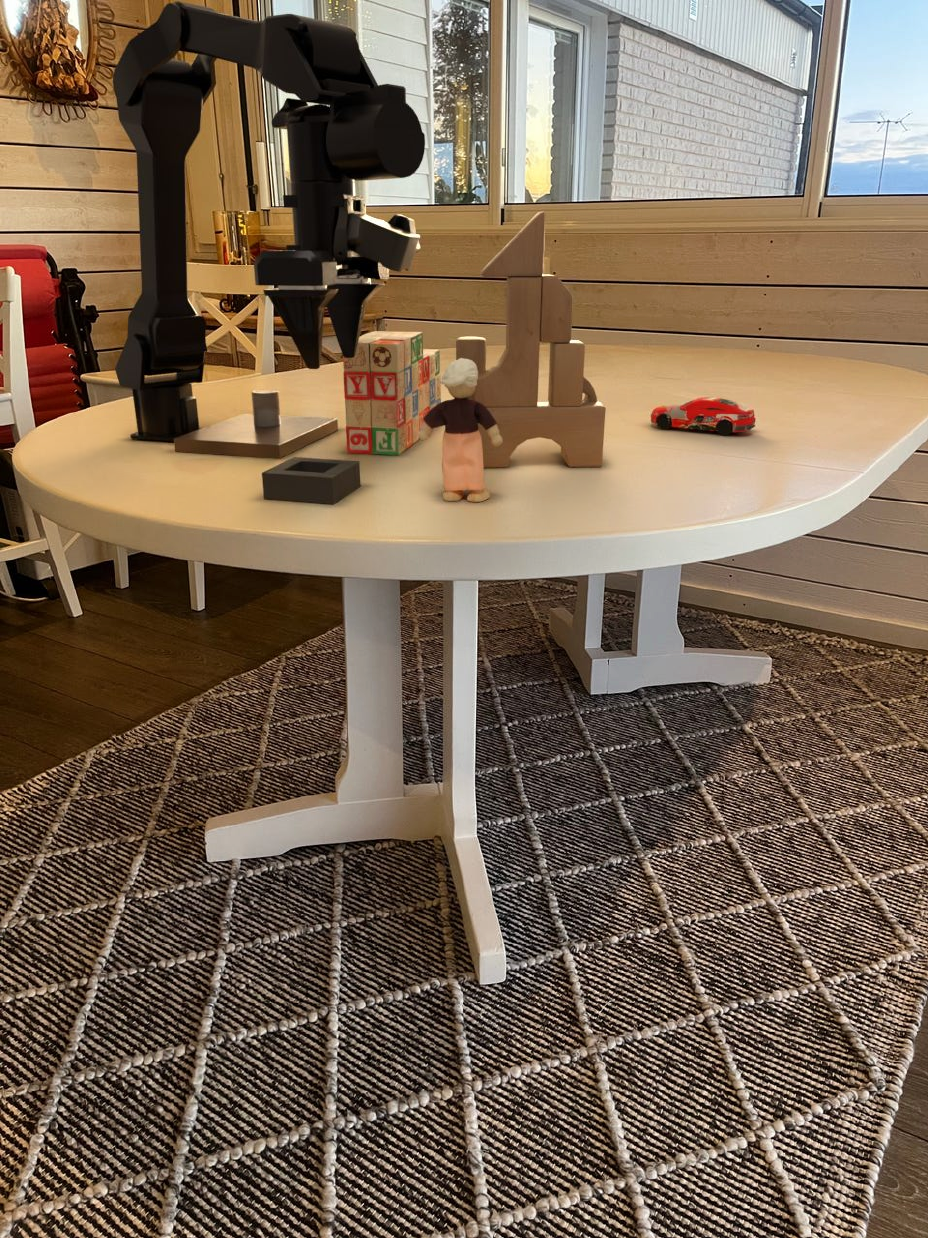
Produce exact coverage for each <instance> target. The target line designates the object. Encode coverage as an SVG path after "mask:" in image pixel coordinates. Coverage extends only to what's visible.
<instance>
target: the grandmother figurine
mask: <svg viewBox="0 0 928 1238" xmlns="http://www.w3.org/2000/svg"><path fill="white" fill-rule="evenodd" d="M441 376H442V377H441V385H444V387H445V388H446V389H447V391H448V393H449V395H450V396H451V397H452V398H451V399H448V400H444V401H441V403H439V404H438V405H436V406H435V407H433V408H432V409H431V410H430V411H429V412H428V413H427V414H426V415H425V417H424V418H423V420H424V422H423V425H422V429H421V431H420V432H419V434H418V436H419V440H421V441H424V442H425V441H428V440H430V439H429V438H430V435H431V433H432V432H433V430H434V429H436V428H440V427H444V431H443V434H442V444H441V445H442V446H441V470H442V479H443V483H442V484H443V489H444V492H443V494H442V498H443V500H444V501H445V502H459V501H461V500H462V499H463V498H464V497H465V493H464V491H467V490H469V492H470V493H469V494H468V495H467V498H466V501H467V502H474V503H479V502H483V501H485V500H488V499H490V498H491V493H490V492H489V490H488V489H486V488H485V468H484V467H483V449H482V439H481V435H480V432H479V428H478V423H479V424H481V425H482V426H483V427H484V429H485V430H487V432H488V435H489V436H490V437H491V442H492V444H493V445H494V446H499V445H501V444H502V442H503V439H502V437H501V436H500V435H499V429H498V427H497V422H496V420H495V419H494V418H493V416H492V415H491V413H490V412H489V410H488V409H487V408H486V407H485V406H484V405H483V404H482V403H480V402H478V401H475V400H471V399H468V398H469V397H470V396H471V395H473V393H474V391H475V387H476V385H477V379H478V369H477V366H476V364H475V363H474V362H473V361H472V360H469V359H463V358H460V359H458V360H456V359H455V360H453V361H452V362H451V363H450V364H448V365H447V366H446V369H445V370H444V372H443V373H442V375H441Z"/></svg>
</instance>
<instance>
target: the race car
mask: <svg viewBox="0 0 928 1238" xmlns="http://www.w3.org/2000/svg"><path fill="white" fill-rule="evenodd" d="M756 419H757V418H756V417H755V410H754V408H751V407H747V406H744V405H743V404H741V403H739V402H737V401H734V400H730V399H727V398H722V397H714V396H713V397H712V396H704V397H698V398H695V399H693V400H690V401H687V402H685V403H681V404H680V403H678V404H677V403H676V404H666V405H665V404H664V405H659V406H657V407H655V408H653V410H652V412H651V414H650V423H652V424H653V425H657V427H658V428H659V429H660V430H667V429H669V428H680V429H690V430H700V431H708V432H709V431H711V432H716V431H717V433H718V434H719V435H720V436H728V435H730V434H731V433H741V432H747V431H751V430H752V429H754V428H755V427H756Z"/></svg>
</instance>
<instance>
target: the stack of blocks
mask: <svg viewBox="0 0 928 1238" xmlns="http://www.w3.org/2000/svg"><path fill="white" fill-rule="evenodd" d="M440 353H441V351H440V349H431V348H429V349H427V348H424V332H423V331H389V330H387V331H386V330H385V331H384V330H383V331H382V330H381V331H380V330H374V331H370V332H368V333H365V334H362V335H361V336H359V340H358V345H357V349H356V354H355V357H354V358H345V357H344V356H343V355H342V364H343V365H342V366H343V392H344V393H343V395H344V406H345V424H346V425H345V436H346V452H347V454H362V455H364V454H366V455H373V454H374V455H384V456H386V455H387V456H399V455H401V454H402V453H403V452H405V451H406V450H407V449H409V448H410V447H411V446H412V445H413V444H415V443H416V442H417V441H418V440H420V438H419V436H418V434H419V432H420V431H421V429H422V425H423V422H424V420H423V418H424V417H425V415H426V414H427V413H428V412H429V411H430V410H431V409H432V408H433V407H435V406H436V405H438V404H439V403H441V402H442V383H441V382H442V377H441V376H442V375H441V373H440V372H441V361H440V359H441V355H440Z"/></svg>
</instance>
